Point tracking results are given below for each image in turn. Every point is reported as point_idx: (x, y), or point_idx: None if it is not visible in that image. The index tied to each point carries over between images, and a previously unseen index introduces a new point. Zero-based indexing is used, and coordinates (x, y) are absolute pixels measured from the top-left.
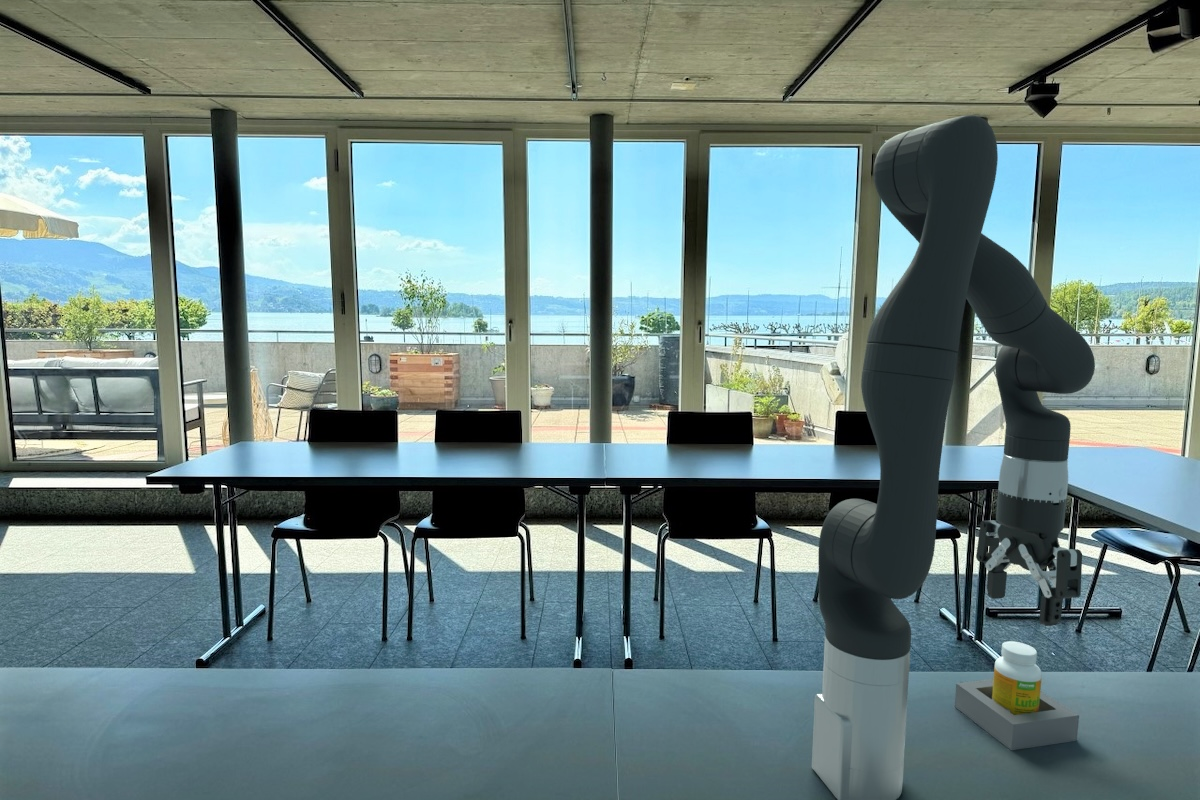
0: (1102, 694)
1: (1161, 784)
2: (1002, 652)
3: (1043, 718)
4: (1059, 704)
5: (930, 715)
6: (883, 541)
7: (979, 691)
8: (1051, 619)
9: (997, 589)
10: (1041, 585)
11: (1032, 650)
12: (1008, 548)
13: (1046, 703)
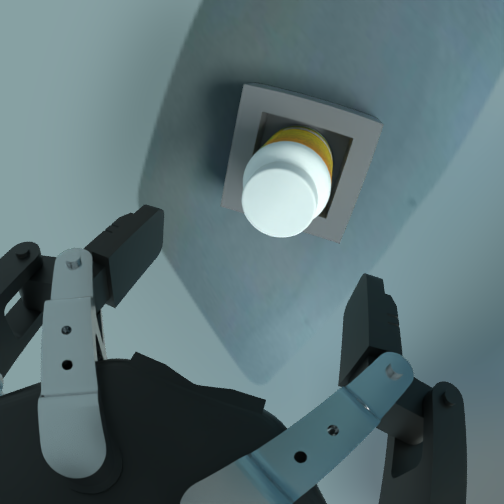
0: (284, 320)
1: (147, 188)
2: (303, 172)
3: (234, 147)
4: None
5: (379, 59)
6: None
7: (342, 133)
8: (119, 218)
9: (356, 309)
10: (82, 282)
11: (257, 219)
12: (223, 471)
13: None
